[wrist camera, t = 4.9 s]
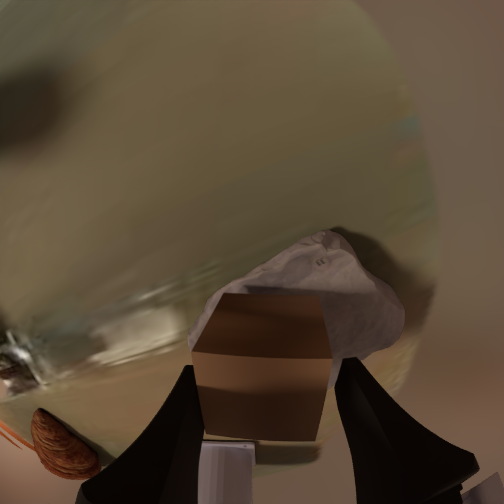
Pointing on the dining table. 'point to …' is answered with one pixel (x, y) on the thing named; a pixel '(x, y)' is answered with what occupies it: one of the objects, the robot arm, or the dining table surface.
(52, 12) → the dining table surface
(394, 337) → the stone block
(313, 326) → the walnut cube
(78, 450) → the pastry
